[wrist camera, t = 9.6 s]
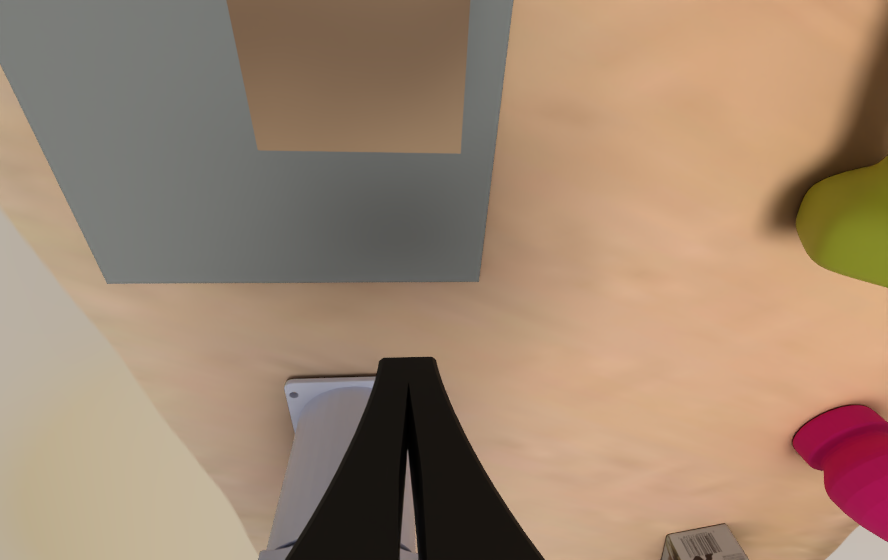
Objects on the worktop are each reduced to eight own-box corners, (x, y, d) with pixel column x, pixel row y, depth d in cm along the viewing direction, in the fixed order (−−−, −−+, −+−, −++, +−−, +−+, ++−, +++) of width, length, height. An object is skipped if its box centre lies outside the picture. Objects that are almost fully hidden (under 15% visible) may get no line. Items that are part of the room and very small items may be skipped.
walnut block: (443, 113, 13) (460, 153, 9) (300, 109, 13) (257, 150, 9) (449, -68, 11) (477, -115, 7) (272, -82, 10) (197, -137, 6)
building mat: (477, 277, 21) (478, 281, 21) (112, 278, 19) (107, 283, 19) (523, -105, 13) (526, -109, 13) (-100, -168, 11) (-115, -174, 11)
